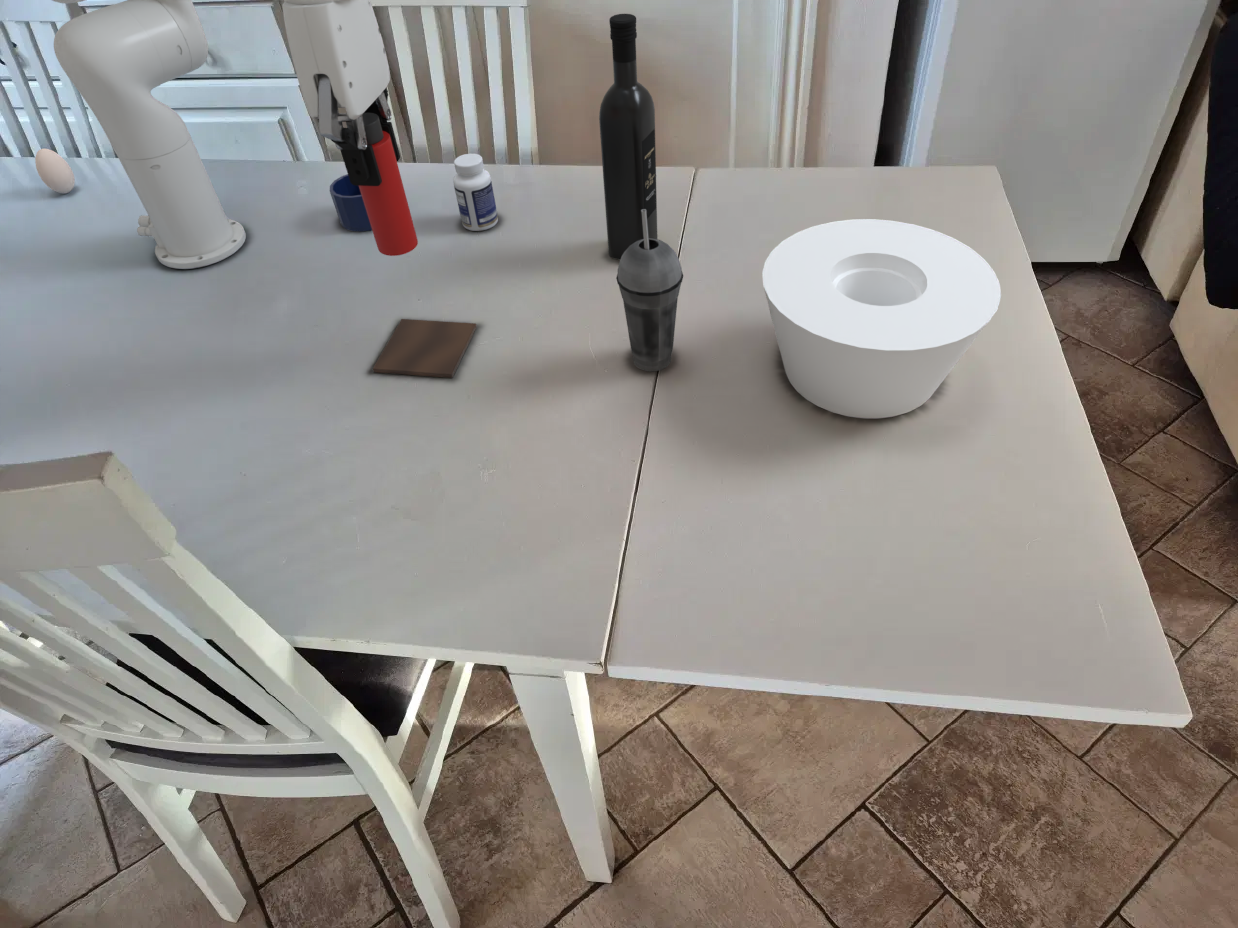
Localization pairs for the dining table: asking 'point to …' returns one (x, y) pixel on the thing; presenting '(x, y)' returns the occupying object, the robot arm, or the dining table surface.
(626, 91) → the wine bottle
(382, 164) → the sauce bottle
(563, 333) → the dining table surface
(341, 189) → the blue cup
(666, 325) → the beverage cup
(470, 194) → the pill bottle
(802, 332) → the recessed white cone
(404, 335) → the coaster
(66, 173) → the egg
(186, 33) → the robot arm
